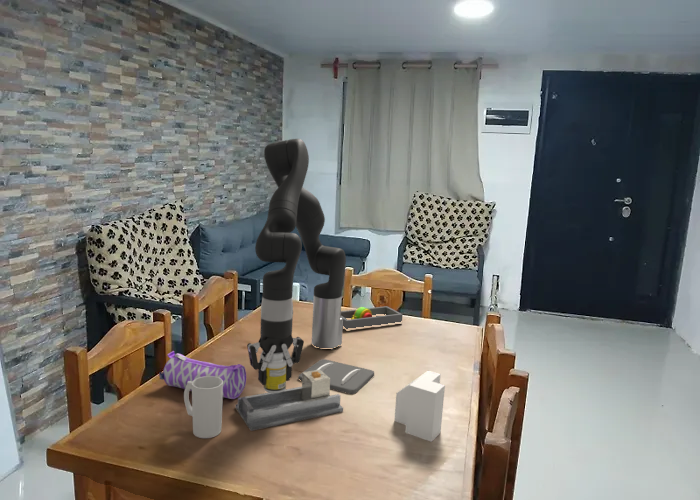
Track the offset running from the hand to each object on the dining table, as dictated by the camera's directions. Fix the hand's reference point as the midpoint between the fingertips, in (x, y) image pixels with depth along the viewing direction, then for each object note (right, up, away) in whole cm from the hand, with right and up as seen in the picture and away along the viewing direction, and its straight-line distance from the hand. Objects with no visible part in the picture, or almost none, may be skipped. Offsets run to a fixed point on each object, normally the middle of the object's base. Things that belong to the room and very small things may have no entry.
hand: (274, 381), depth 132 cm
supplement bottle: (0, -2, 0) cm, 2 cm away
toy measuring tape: (+26, +4, +75) cm, 79 cm away
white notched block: (+35, -11, 0) cm, 37 cm away
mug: (-16, -9, -8) cm, 20 cm away
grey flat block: (+15, -5, +24) cm, 29 cm away
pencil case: (-20, -6, +12) cm, 24 cm away
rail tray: (+3, -8, +3) cm, 9 cm away
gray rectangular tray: (+25, +4, +73) cm, 78 cm away
